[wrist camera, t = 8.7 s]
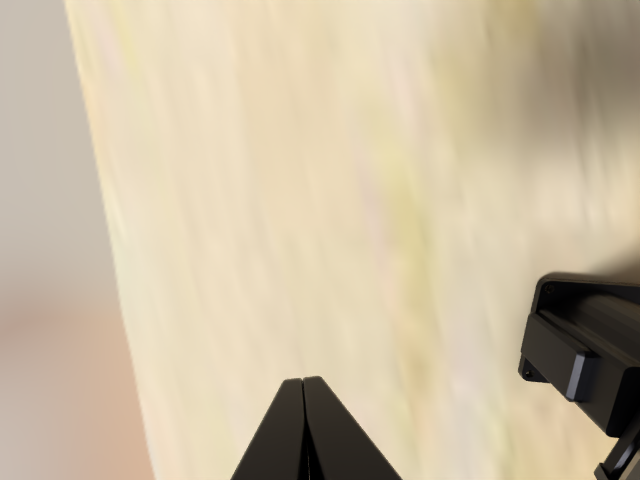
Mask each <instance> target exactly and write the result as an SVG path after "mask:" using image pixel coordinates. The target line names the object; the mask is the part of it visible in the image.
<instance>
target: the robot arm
mask: <svg viewBox="0 0 640 480" xmlns="http://www.w3.org/2000/svg"><path fill="white" fill-rule="evenodd" d="M548 285H550V288H549V289H548V290H546V291H545V288H546V286H548ZM521 353H522V354H521V359H520V363H519V368H518V373H519V374H520V376H521V377H522V378H523V379H524V380H526V381H531V382H543V383H551V384H552V385H553V386H554V387H555V388H556V389H557V390H558V391H559V392H560V393H561V394H562V395H563V396H564V398H565V399H566V400H567V401H569V402H574V403H575V404H576V405H577V406H578V407H579V408H580V409H581V410H582V411H583V412H584V413H585V414H586V415H587V416H588V417H589V418H590V419H591V420H592V421H593V422H594V423H595V424H596V425H597V426H598V427H599V428H600V429H601V430H602V431H603V432H604V433H605V434H606V435H607V436H609V437H614V438H619V439H618V441H617V443H616V444H615V446H614V447H613V449H612V450H611V452H610V453H609V455H608V456H607V458H606V460H605V461H604V463H599V465H598V466H597V468H596V469H595V471H594V475H595V477H596V479H597V480H640V285H639V284H624V283H609V282H594V281H579V280H564V279H549V278H546V279H542V280H540V281H539V282H538V283H537V286H536V290H535V294H534V299H533V303H532V308H531V313H530V314H529V316H528V320H527V324H526V329H525V334H524V338H523V343H522V347H521ZM530 370H531V371H530ZM528 371H530V372H529V373H527V372H528ZM526 373H527V374H526ZM308 463H309V465H308ZM309 476H310V480H403V479H402V478H401V477H400V476H399V474H398V473H397V472H396V471H395V469H394V468H393V467H392V466H391V464H390V463H389V462H388V460H387V459H386V458H385V457H384V455H383V454H382V453H381V452H380V450H379V449H378V448H377V447H376V445H375V444H374V443H373V442H372V440H371V439H370V438H369V436H368V435H367V434H366V433H365V431H364V430H363V429H362V428H361V426H360V425H359V424H358V423H357V421H356V420H355V419H354V418H353V416H352V415H351V414H350V412H349V411H348V410H347V409H346V407H345V406H344V405H343V404H342V402H341V401H340V400H339V399H338V397H337V396H336V395H335V394H334V392H333V391H332V390H331V388H330V387H329V386H328V385H327V383H326V382H325V381H324V380H323V378H322V377H320V376H312V377H305V378H304V379H303V383H302V379H301V378H294V379H286V380H284V381H283V383H282V384H281V386H280V388H279V390H278V392H277V394H276V395H275V397H274V399H273V401H272V403H271V405H270V407H269V409H268V410H267V412H266V414H265V416H264V418H263V420H262V422H261V423H260V425H259V427H258V429H257V431H256V433H255V435H254V437H253V438H252V440H251V442H250V444H249V446H248V448H247V450H246V451H245V453H244V455H243V457H242V459H241V461H240V463H239V465H238V466H237V468H236V470H235V472H234V474H233V476H232V478H231V479H230V480H309Z"/></svg>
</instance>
